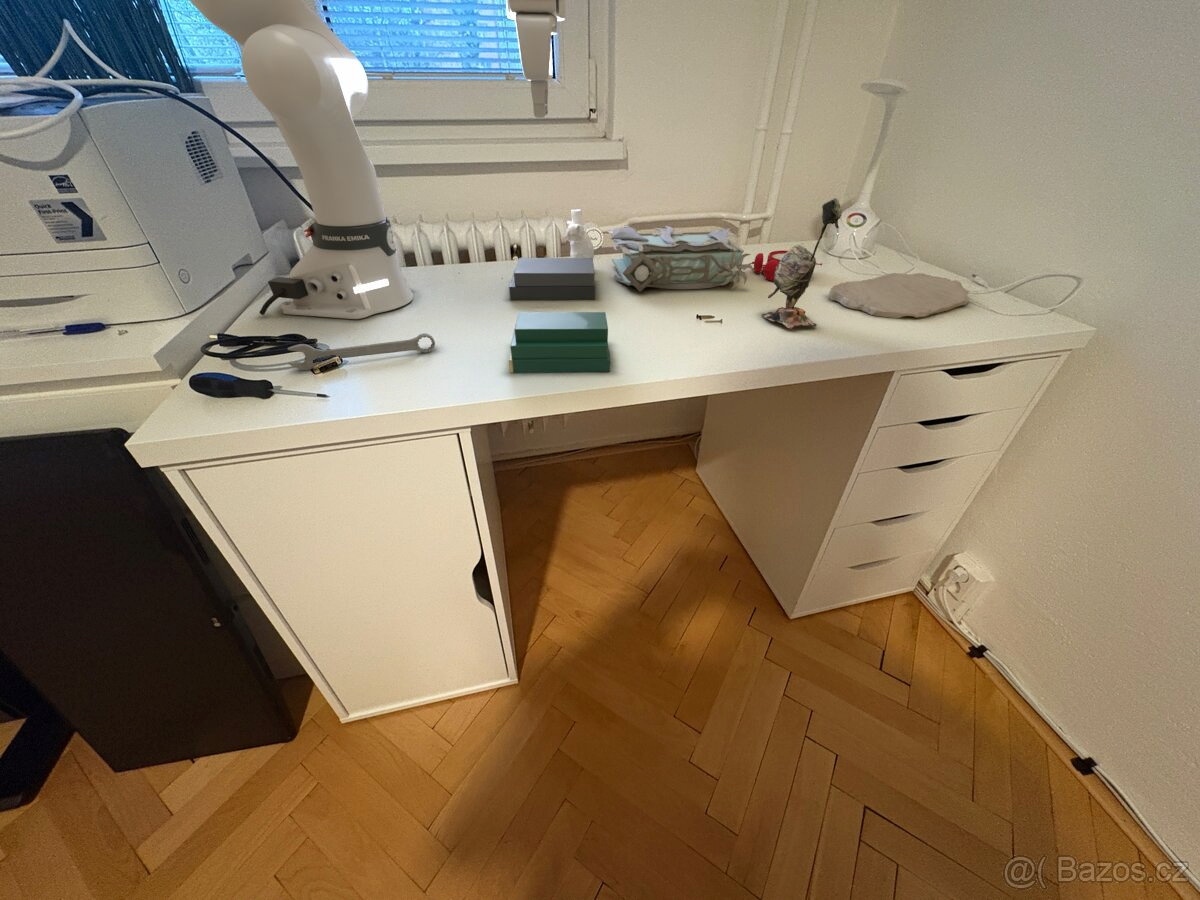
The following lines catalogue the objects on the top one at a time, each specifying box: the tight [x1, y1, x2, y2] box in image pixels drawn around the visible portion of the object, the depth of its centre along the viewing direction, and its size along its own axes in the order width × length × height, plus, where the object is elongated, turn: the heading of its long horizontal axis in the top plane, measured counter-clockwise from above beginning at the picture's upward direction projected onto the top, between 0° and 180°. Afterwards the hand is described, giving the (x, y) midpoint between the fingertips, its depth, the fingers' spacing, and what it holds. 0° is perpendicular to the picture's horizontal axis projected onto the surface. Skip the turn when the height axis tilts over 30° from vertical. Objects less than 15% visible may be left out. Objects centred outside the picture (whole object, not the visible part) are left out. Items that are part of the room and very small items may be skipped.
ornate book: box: [607, 224, 755, 292], centre depth 103 cm, size 23×10×30 cm
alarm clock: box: [748, 249, 823, 282], centre depth 106 cm, size 10×6×15 cm
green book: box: [514, 311, 609, 343], centre depth 70 cm, size 13×6×2 cm, turn 93°
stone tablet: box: [828, 272, 970, 319], centre depth 95 cm, size 16×30×2 cm, turn 115°
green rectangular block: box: [508, 324, 611, 374], centre depth 72 cm, size 14×9×4 cm, turn 93°
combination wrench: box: [287, 332, 436, 371], centre depth 71 cm, size 4×1×20 cm
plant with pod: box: [761, 197, 843, 329], centre depth 81 cm, size 8×11×20 cm
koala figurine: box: [564, 208, 595, 259], centre depth 106 cm, size 8×7×12 cm
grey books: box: [508, 257, 596, 301], centre depth 96 cm, size 16×11×5 cm
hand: (541, 116), depth 80 cm, fingers open, 8 cm apart
